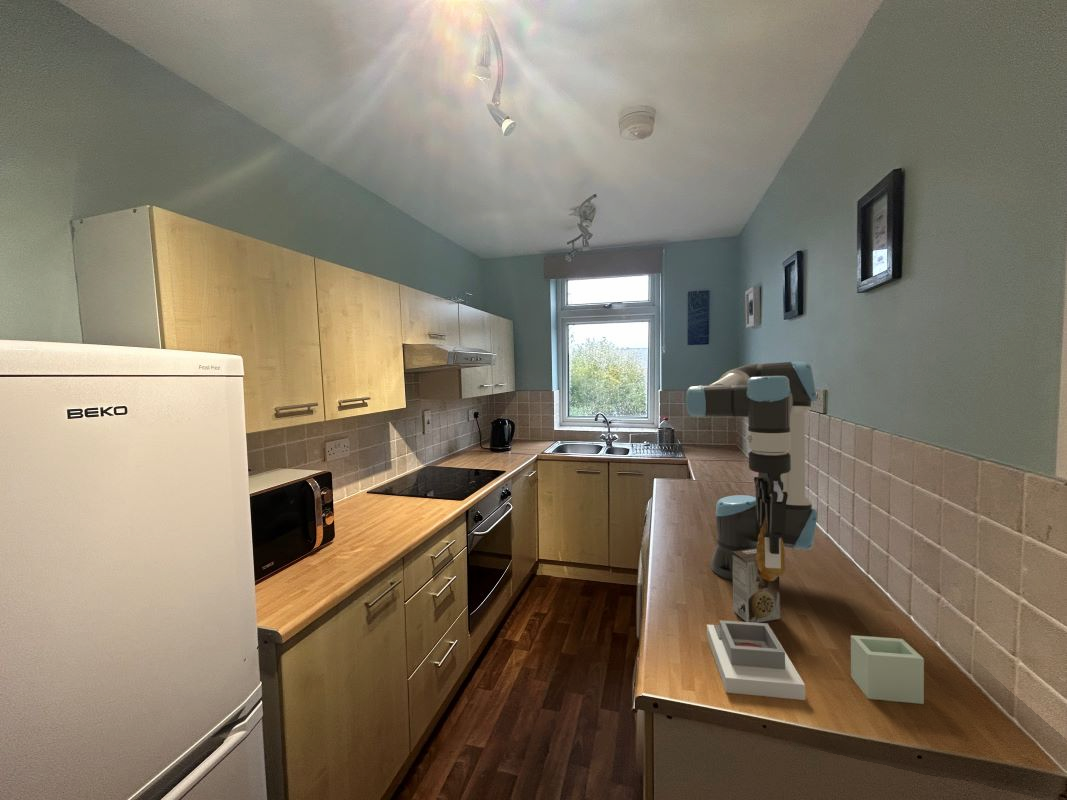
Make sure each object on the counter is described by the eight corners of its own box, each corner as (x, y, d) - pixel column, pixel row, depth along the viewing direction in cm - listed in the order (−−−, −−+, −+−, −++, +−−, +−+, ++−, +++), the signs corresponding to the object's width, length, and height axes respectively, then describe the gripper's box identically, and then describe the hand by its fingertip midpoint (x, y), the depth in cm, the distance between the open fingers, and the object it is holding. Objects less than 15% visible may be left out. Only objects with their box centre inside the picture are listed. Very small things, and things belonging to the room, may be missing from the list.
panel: (707, 636, 100) (706, 610, 100) (771, 641, 98) (771, 614, 97) (726, 692, 83) (725, 660, 82) (805, 700, 80) (804, 666, 80)
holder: (851, 676, 86) (850, 635, 85) (902, 680, 84) (902, 638, 83) (868, 698, 80) (868, 654, 79) (923, 703, 78) (923, 658, 77)
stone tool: (781, 578, 89) (782, 509, 87) (785, 584, 86) (787, 513, 85) (755, 577, 90) (755, 508, 88) (758, 583, 87) (759, 512, 86)
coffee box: (763, 606, 112) (762, 546, 112) (781, 619, 106) (780, 556, 105) (732, 610, 111) (730, 550, 110) (748, 624, 104) (747, 560, 104)
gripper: (739, 445, 95) (741, 548, 96) (759, 458, 80) (761, 580, 81) (776, 445, 93) (778, 550, 94) (804, 458, 78) (805, 583, 79)
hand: (770, 564), depth 88 cm, fingers closed on stone tool, 2 cm apart
